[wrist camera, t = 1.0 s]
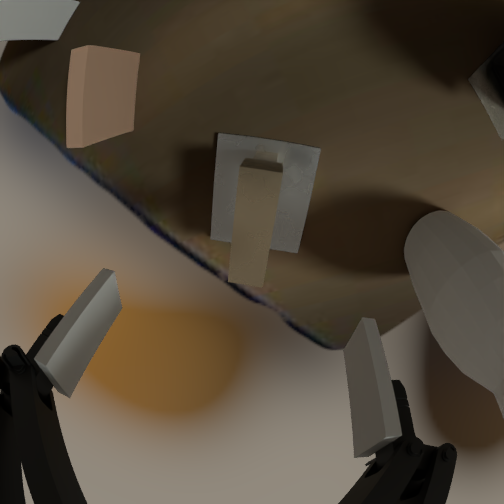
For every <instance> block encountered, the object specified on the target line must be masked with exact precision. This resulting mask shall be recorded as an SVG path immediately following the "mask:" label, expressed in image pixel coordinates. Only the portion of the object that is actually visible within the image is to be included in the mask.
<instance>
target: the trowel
mask: <svg viewBox="0 0 504 504" xmlns="http://www.w3.org/2000/svg"><path fill="white" fill-rule="evenodd" d="M320 150H321V148H319V147H314V146H309V145H304V144H299V143H293V142H288V141H282V140H275V139H269V138H262V137H255V136H247V135H239V134H230V133H218V141H217V152H216V164H215V177H214V190H213V205H212V221H211V239H212V240H219V241H225V242H231V253H230V264H229V275H228V282H233V283H239V284H245V285H251V286H257V287H263V282H264V277H265V271H266V266H267V261H268V255H269V250H270V249H274V250H280V251H286V252H292V253H298V250H299V246H300V241H301V237H302V233H303V229H304V225H305V220H306V216H307V211H308V207H309V203H310V198H311V194H312V189H313V184H314V180H315V175H316V170H317V165H318V160H319V155H320Z"/></svg>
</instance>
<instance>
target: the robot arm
mask: <svg viewBox="0 0 504 504" xmlns="http://www.w3.org/2000/svg"><path fill="white" fill-rule="evenodd" d="M121 309H122V305H121V300H120V296H119V291H118V286H117V282H116V276H115V271H112V270H109V269H105V268H103V269H102V270H101V271H100V273H99V274H98V275H97V276H96V277H95V279H94V280H93V281H92V282H91V283H90V284H89V286H88V287H87V288H86V289H85V290H84V292H83V293H82V294H81V296H80V297H79V298H78V299H77V300H76V302H75V303H74V304H73V305H72V307H71V308H70V309H69V311H68V312H67V313H66V314H65V316H63V315H61V314H59V315H57V316H56V317H54V318H53V319H52V320H51V321H50V322H49V324H48V325H47V326H46V328H45V329H44V330H43V332H42V334H40V336H39V337H38V338H37V340H36V341H35V343H34V344H33V345H32V347H31V349H30V350H29V351H28V353H27V354H26V355H25V353H24V352H23V350H22V349H21V348H20V346H18V345H11V346H8V347H7V348H6V349H4V351H3V353H2V356H0V389H1V393H0V504H26V503H25V497H24V490H23V482H22V481H23V480H22V469H21V463H22V466H23V470H24V474H25V477H26V480H27V484H28V487H29V490H30V493H31V496H32V499H33V501H34V504H87V502H86V500H85V497H84V495H83V493H82V491H81V488H80V486H79V483H78V481H77V478H76V476H75V473H74V471H73V467H72V465H71V462H70V459H69V456H68V453H67V449H66V446H65V443H64V439H63V436H62V432H61V428H60V424H59V420H58V416H57V411H56V406H55V401H54V397H53V392H52V390H51V389H52V388H53V386H54V387H55V388H56V389H57V391H58V392H59V393H61V394H63V395H65V396H67V397H69V398H70V397H71V395H72V393H73V391H74V389H75V387H76V385H77V384H78V381H79V380H80V378H81V376H82V375H83V373H84V371H85V369H86V367H87V365H88V364H89V362H90V360H91V358H92V357H93V355H94V353H95V352H96V350H97V348H98V346H99V345H100V343H101V342H102V340H103V338H104V336H105V335H106V333H107V332H108V330H109V328H110V327H111V325H112V324H113V322H114V320H115V319H116V317H117V316H118V314H119V313H120V311H121ZM343 351H344V358H345V365H346V373H347V381H348V389H349V398H350V408H351V419H352V430H353V445H354V458H357V457H369V456H371V455H372V454H374V453H375V454H376V458H375V459H373V460H371V461H369V462H368V463H366V464H365V465H366V466H367V465H369V464H370V465H369V467H368V468H367V469H366V471H365V472H364V473H363V475H362V476H361V477H360V478H359V480H358V481H357V482H356V483H355V485H354V486H353V487H352V488H351V489H350V491H349V492H348V493H347V494H346V495H345V497H344V498H343V499H342V500H341V501H340V502H339V503H338V504H445V503H446V500H447V497H448V493H449V490H450V486H451V482H452V478H453V473H454V469H455V464H456V458H457V452H456V448H455V447H454V446H453V445H452V444H450V443H445V444H443V445H441V446H439V447H434V446H429V445H425V444H423V442H422V441H421V440H420V439H419V438H417V437H416V436H415V433H414V428H413V422H412V417H411V413H410V408H409V404H408V400H407V395H406V391H405V388H404V386H403V385H402V383H401V382H400V380H391V377H390V373H389V368H388V365H387V361H386V357H385V353H384V349H383V345H382V342H381V338H380V335H379V331H378V328H377V324H376V321H375V319H371V318H363V317H362V319H361V321H360V322H359V324H358V326H357V328H356V330H355V331H354V333H353V335H352V337H351V338H350V340H349V342H348V344H347V345H346V347H345V349H344V350H343Z"/></svg>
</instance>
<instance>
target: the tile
mask: <svg viewBox="0 0 504 504" xmlns="http://www.w3.org/2000/svg"><path fill="white" fill-rule="evenodd" d="M139 60H140V53H135V52H130V51H125V50H119V49H113V48H107V47H100V46H92V45H87V46H83V47H80V48H76V49H73V50H72V51H71V58H70V66H69V76H68V89H67V110H66V137H67V148H83V147H86V146H88V145H91V144H94V143H97V142H99V141H102V140H105V139H108V138H111V137H114V136H117V135H120V134H123V133H127V132H130V131H133V129H134V110H135V96H136V85H137V76H138V67H139Z"/></svg>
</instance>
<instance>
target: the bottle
mask: <svg viewBox="0 0 504 504" xmlns="http://www.w3.org/2000/svg"><path fill="white" fill-rule="evenodd" d="M404 259H405V262H406V265H407V268H408V271H409V274H410V277H411V281H412V284H413V287H414V289H415V292H416V294H417V297H418V299H419V302H420V304H421V307H422V309H423V311H424V314H425V316H426V319H427V322H428V324H429V327H430V330H431V333H432V334H433V336H434V337H435V338H436V340H437V342H438V343H439V345H440V346H441V348H442V349H443V351H444V353H445V354H446V355H447V356H448V357H449V358H450V359H451V360H452V361H453V362H454V364H455V365H456V366H457V367H458V368H459V369H460V370H461V371H462V372H463V373H464V374H465V375H467V376H468V377H470V378H472V379H473V380H474V381H476V382H478V383H479V384H481V385H482V386H484V387H485V388H487V389H488V390H490V391H491V392H493V393H494V395H495V397H496V400H497V402H498V405H499V407H500V410H501V412H502V415H503V418H504V251H503V250H502V249H501V248H500V247H499V246H498V245H497V244H496V243H494V242H493V241H492V240H491V239H490V238H489V237H488V236H486V235H485V234H484V233H483V232H482V231H481V230H479V229H478V228H476V227H474V226H473V225H471V224H470V223H468V222H466V221H464V220H463V219H461V218H459V217H458V216H456V215H454V214H452V213H450V212H449V211H440V210H439V211H435V212H431V213H429V214H427V215H425V216H424V217H422V218H421V219H419V220H418V221H417V223H416V224H415V225H414V226H413V227H412V229H411V231H410V233H409V234H408V236H407V238H406V242H405V246H404Z"/></svg>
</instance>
